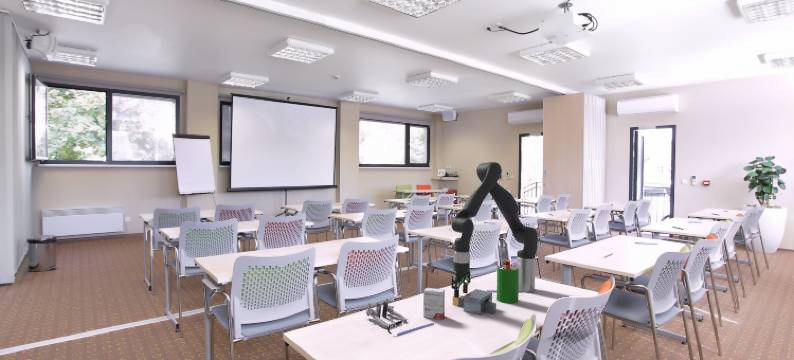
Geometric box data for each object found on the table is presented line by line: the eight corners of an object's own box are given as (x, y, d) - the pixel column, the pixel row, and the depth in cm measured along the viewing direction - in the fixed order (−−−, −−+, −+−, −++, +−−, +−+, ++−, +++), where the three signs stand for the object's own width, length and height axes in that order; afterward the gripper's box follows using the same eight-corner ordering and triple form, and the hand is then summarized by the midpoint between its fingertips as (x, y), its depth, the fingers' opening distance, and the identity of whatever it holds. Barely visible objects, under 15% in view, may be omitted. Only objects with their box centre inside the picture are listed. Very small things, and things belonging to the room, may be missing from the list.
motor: (516, 297, 201) (517, 257, 200) (520, 303, 192) (521, 261, 191) (495, 296, 202) (496, 256, 201) (498, 303, 193) (499, 261, 192)
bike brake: (361, 316, 173) (390, 339, 157) (363, 301, 172) (392, 323, 156) (387, 310, 181) (416, 331, 166) (389, 295, 180) (418, 315, 165)
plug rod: (456, 302, 193) (456, 294, 193) (496, 312, 181) (496, 303, 181) (452, 304, 190) (452, 296, 190) (492, 314, 178) (493, 305, 178)
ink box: (445, 316, 176) (445, 289, 176) (442, 320, 172) (443, 292, 171) (426, 313, 179) (426, 287, 179) (423, 317, 174) (423, 290, 174)
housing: (475, 303, 192) (476, 289, 192) (491, 307, 187) (492, 292, 187) (463, 310, 182) (464, 295, 182) (480, 315, 178) (480, 299, 177)
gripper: (461, 264, 181) (460, 300, 182) (475, 259, 192) (475, 293, 193) (446, 262, 186) (446, 297, 186) (461, 256, 197) (461, 290, 198)
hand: (460, 295), depth 190 cm, fingers open, 8 cm apart
